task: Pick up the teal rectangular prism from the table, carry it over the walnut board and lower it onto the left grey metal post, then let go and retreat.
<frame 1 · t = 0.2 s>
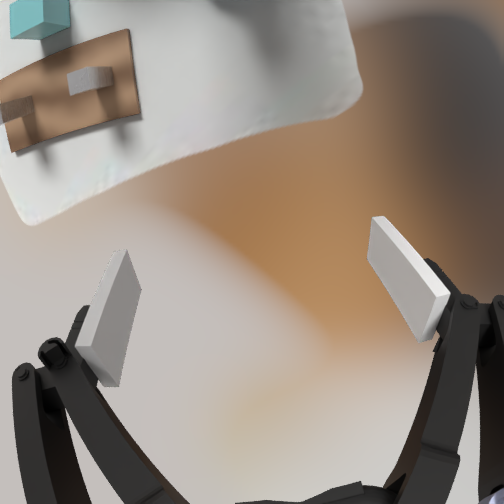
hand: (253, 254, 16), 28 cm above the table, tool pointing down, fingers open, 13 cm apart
teal rectangular prism: (53, 17, 26), on the table
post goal: (26, 106, 31), resting on board
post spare: (103, 78, 32), resting on board
board: (62, 92, 32), on the table
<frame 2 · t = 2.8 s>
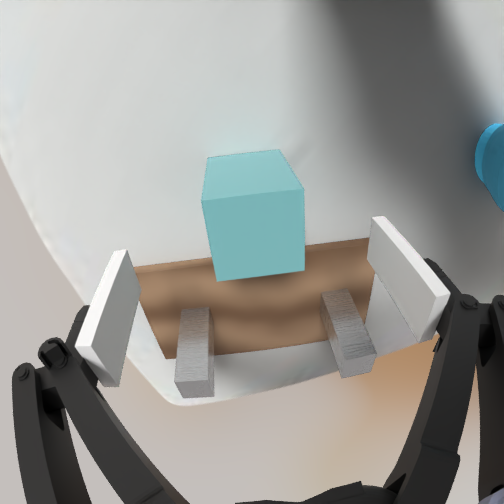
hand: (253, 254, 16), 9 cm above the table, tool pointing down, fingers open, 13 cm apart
teal rectangular prism: (247, 186, 23), on the table
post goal: (198, 318, 29), resting on board
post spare: (333, 300, 29), resting on board
perfume bottle: (494, 153, 23), on the table
board: (259, 303, 30), on the table
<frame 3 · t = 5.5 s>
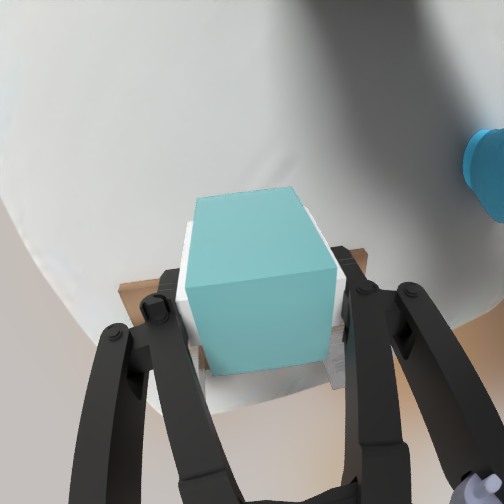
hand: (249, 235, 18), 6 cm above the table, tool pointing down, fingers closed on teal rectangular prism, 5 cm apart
teal rectangular prism: (249, 233, 18), point 6 cm above the table, touching gripper
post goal: (188, 333, 29), resting on board
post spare: (322, 312, 29), resting on board
perfume bottle: (482, 160, 24), on the table
board: (249, 317, 30), on the table
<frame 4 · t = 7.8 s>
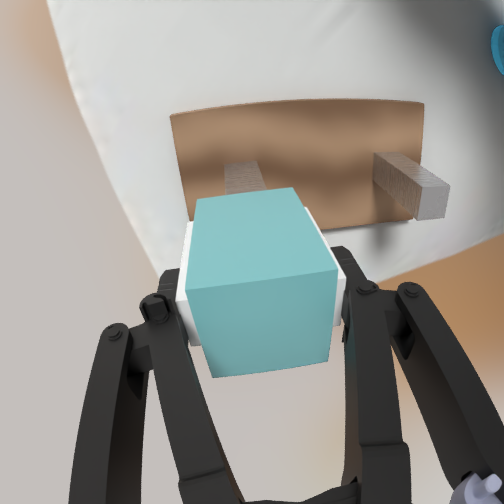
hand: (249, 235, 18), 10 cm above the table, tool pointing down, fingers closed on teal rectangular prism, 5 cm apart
teal rectangular prism: (249, 234, 18), point 10 cm above the table, touching gripper
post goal: (241, 177, 25), resting on board
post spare: (385, 165, 26), resting on board
board: (309, 166, 26), on the table
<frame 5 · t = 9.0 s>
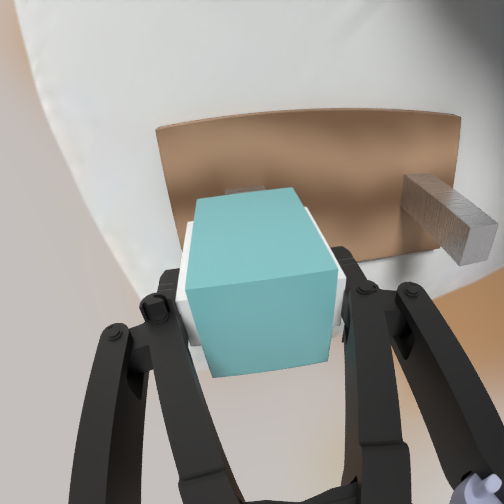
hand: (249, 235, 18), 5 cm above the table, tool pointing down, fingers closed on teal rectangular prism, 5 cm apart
teal rectangular prism: (249, 234, 18), point 4 cm above the table, touching gripper
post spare: (415, 189, 21), resting on board
board: (328, 190, 22), on the table
when the fingers open (3 cm above the table, at t = 10.1 s): teal rectangular prism stays where it is, resting on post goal.
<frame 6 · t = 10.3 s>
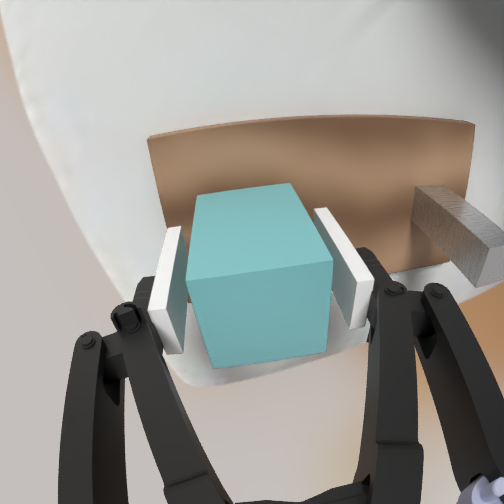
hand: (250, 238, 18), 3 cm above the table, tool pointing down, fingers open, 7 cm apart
teal rectangular prism: (248, 229, 18), point 2 cm above the table, touching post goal
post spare: (427, 201, 20), resting on board
board: (335, 203, 20), on the table
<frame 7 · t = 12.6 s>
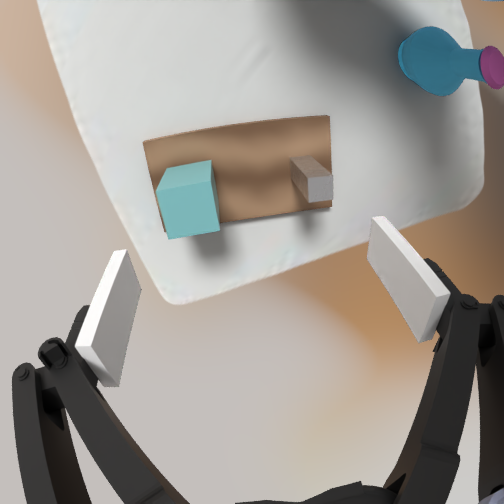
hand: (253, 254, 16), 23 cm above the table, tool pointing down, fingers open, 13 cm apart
teal rectangular prism: (193, 184, 35), point 2 cm above the table, touching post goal
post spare: (300, 166, 37), resting on board
perfume bottle: (417, 59, 31), on the table
board: (242, 171, 37), on the table
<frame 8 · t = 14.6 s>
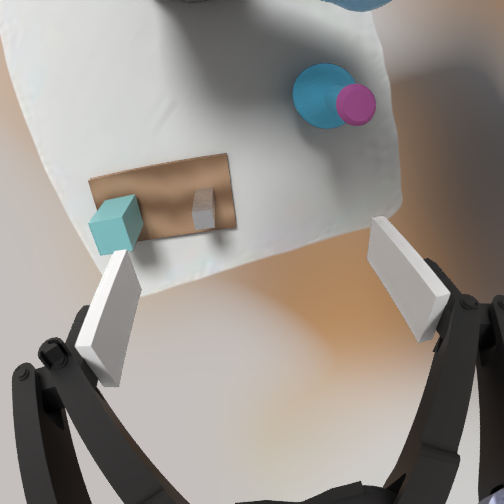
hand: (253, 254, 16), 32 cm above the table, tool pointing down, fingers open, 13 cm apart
teal rectangular prism: (124, 212, 45), point 2 cm above the table, touching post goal
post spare: (205, 196, 47), resting on board
perfume bottle: (316, 93, 40), on the table
board: (162, 200, 47), on the table
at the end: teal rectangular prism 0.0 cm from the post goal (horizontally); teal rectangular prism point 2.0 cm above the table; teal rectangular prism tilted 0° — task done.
